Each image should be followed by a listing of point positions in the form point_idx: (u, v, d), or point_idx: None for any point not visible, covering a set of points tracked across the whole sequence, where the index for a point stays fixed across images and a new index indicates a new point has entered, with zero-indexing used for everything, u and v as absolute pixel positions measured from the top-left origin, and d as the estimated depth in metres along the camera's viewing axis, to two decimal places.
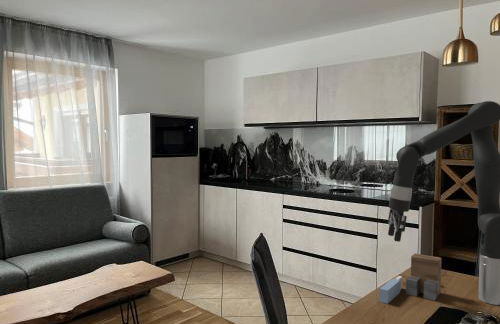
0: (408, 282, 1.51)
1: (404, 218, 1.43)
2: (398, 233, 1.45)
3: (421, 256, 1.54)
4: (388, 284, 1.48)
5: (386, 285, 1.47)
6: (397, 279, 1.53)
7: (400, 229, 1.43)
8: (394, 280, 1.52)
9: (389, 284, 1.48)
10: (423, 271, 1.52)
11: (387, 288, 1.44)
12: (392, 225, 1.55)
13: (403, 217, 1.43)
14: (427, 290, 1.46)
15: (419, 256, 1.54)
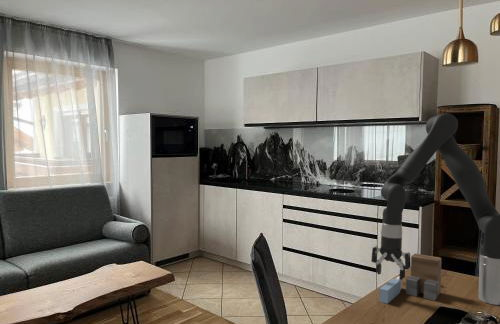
0: (408, 282, 1.51)
1: (409, 255, 1.44)
2: (404, 271, 1.45)
3: (421, 256, 1.54)
4: (388, 284, 1.48)
5: (386, 285, 1.47)
6: (397, 279, 1.53)
7: (408, 267, 1.44)
8: (394, 280, 1.52)
9: (389, 284, 1.48)
10: (423, 271, 1.52)
11: (387, 288, 1.44)
12: (379, 263, 1.51)
13: (409, 254, 1.44)
14: (427, 290, 1.46)
15: (419, 256, 1.54)
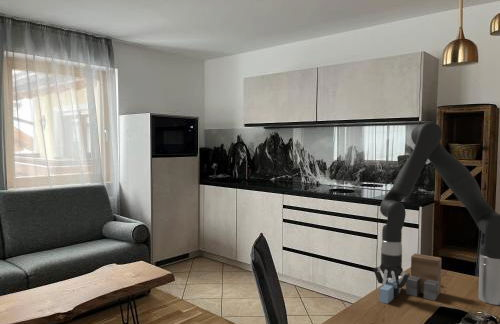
0: (408, 282, 1.51)
1: (408, 276, 1.45)
2: (397, 289, 1.47)
3: (421, 256, 1.54)
4: (388, 284, 1.48)
5: (386, 285, 1.47)
6: None
7: (402, 285, 1.45)
8: None
9: (389, 284, 1.48)
10: (423, 271, 1.52)
11: (387, 288, 1.44)
12: None
13: (408, 276, 1.44)
14: (427, 290, 1.46)
15: (419, 256, 1.54)
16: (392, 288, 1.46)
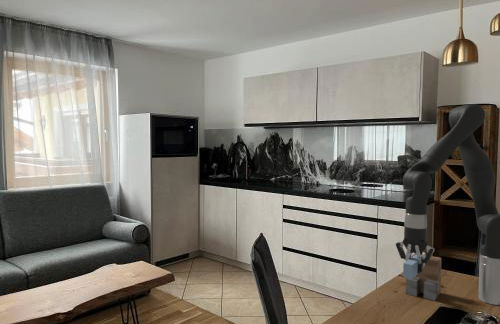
0: (408, 282, 1.51)
1: (433, 251, 1.37)
2: (422, 265, 1.39)
3: None
4: (412, 259, 1.41)
5: (410, 260, 1.39)
6: None
7: None
8: None
9: (413, 260, 1.40)
10: (423, 271, 1.52)
11: (411, 263, 1.36)
12: None
13: (433, 250, 1.37)
14: (427, 290, 1.46)
15: None
16: (416, 263, 1.38)
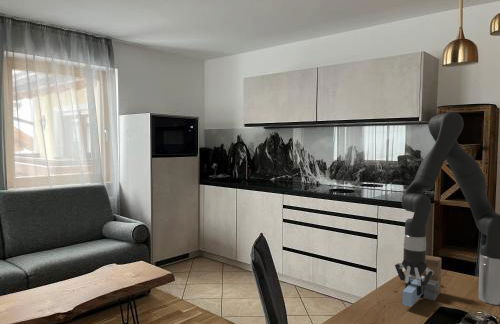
0: None
1: None
2: None
3: None
4: (411, 286, 1.41)
5: (409, 287, 1.40)
6: None
7: (426, 283, 1.38)
8: (416, 281, 1.45)
9: (412, 286, 1.41)
10: None
11: (410, 290, 1.37)
12: (409, 281, 1.43)
13: None
14: (427, 290, 1.46)
15: None
16: (415, 290, 1.39)
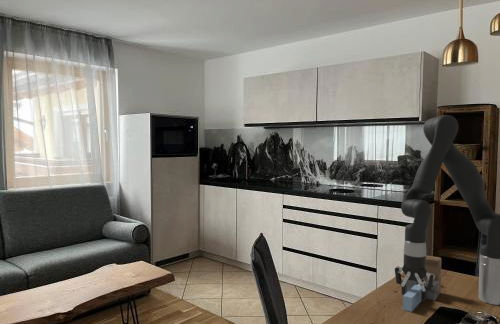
0: (408, 282, 1.51)
1: (434, 276, 1.37)
2: (425, 292, 1.39)
3: None
4: (411, 291, 1.41)
5: (409, 292, 1.40)
6: None
7: (431, 288, 1.37)
8: (417, 287, 1.45)
9: (412, 291, 1.41)
10: None
11: (411, 295, 1.37)
12: (405, 284, 1.43)
13: (434, 276, 1.37)
14: None
15: None
16: (415, 295, 1.39)
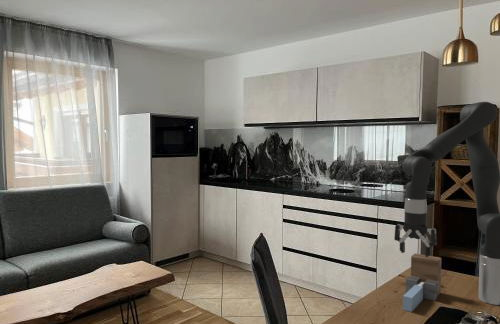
0: (408, 282, 1.51)
1: (435, 231, 1.37)
2: (430, 248, 1.38)
3: (421, 256, 1.54)
4: (411, 291, 1.41)
5: (409, 292, 1.40)
6: (420, 285, 1.46)
7: (435, 243, 1.37)
8: (417, 287, 1.45)
9: (412, 291, 1.41)
10: (423, 271, 1.52)
11: (411, 295, 1.37)
12: (403, 241, 1.44)
13: (435, 230, 1.37)
14: (427, 290, 1.46)
15: (419, 256, 1.54)
16: (416, 295, 1.39)
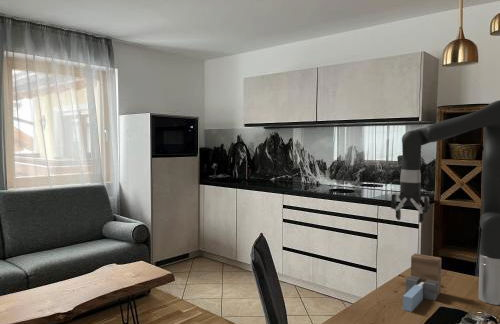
0: (408, 282, 1.51)
1: (428, 199, 1.50)
2: (423, 214, 1.51)
3: (421, 256, 1.54)
4: (411, 291, 1.41)
5: (409, 292, 1.40)
6: (420, 285, 1.46)
7: (428, 210, 1.49)
8: (417, 287, 1.45)
9: (412, 291, 1.41)
10: (423, 271, 1.52)
11: (411, 295, 1.37)
12: (399, 209, 1.57)
13: (428, 198, 1.50)
14: (427, 290, 1.46)
15: (419, 256, 1.54)
16: (415, 295, 1.39)
